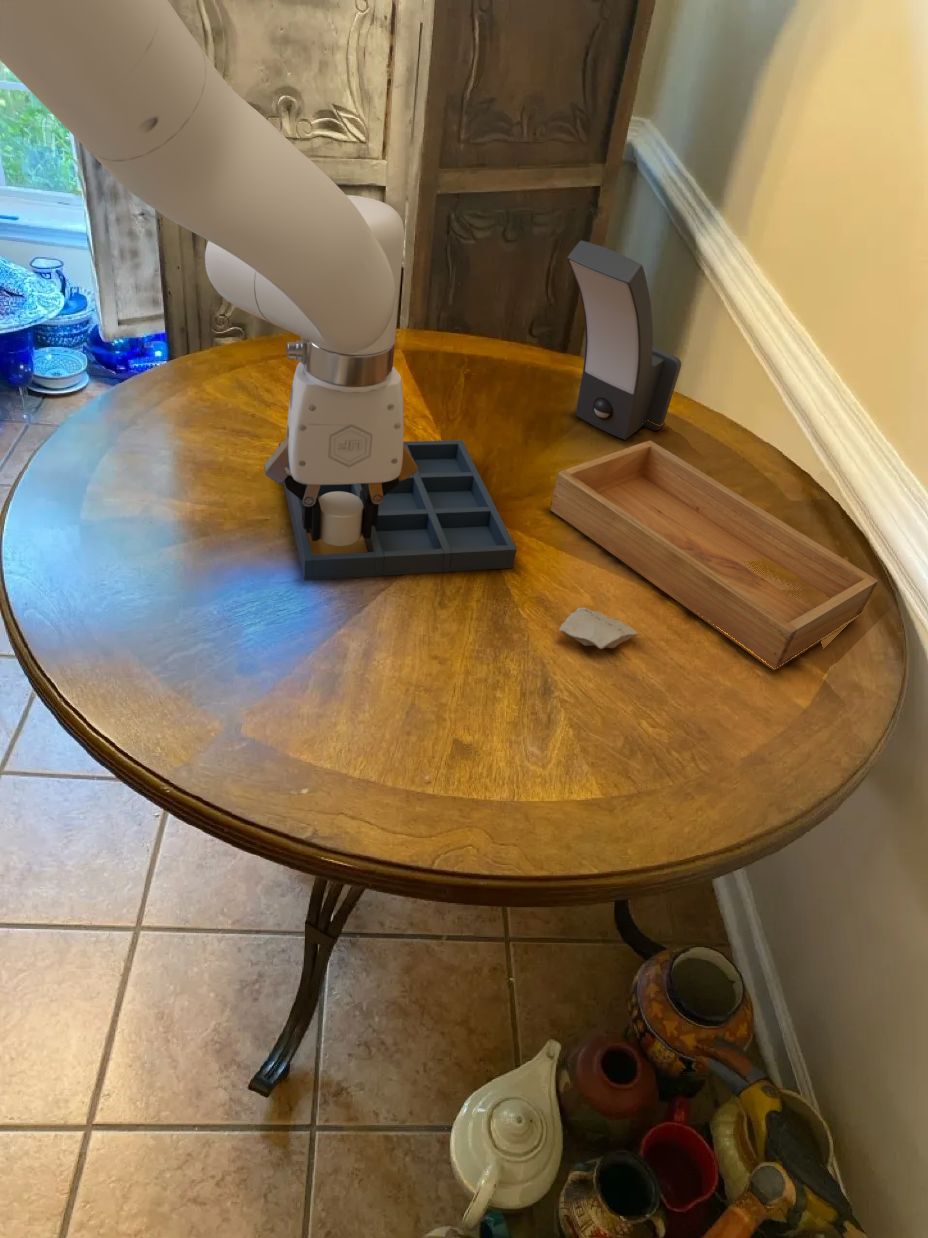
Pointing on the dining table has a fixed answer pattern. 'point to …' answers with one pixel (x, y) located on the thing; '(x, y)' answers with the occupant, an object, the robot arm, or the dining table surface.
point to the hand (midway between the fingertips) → (339, 529)
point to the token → (340, 518)
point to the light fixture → (619, 345)
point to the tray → (710, 549)
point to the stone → (596, 629)
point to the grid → (416, 523)
